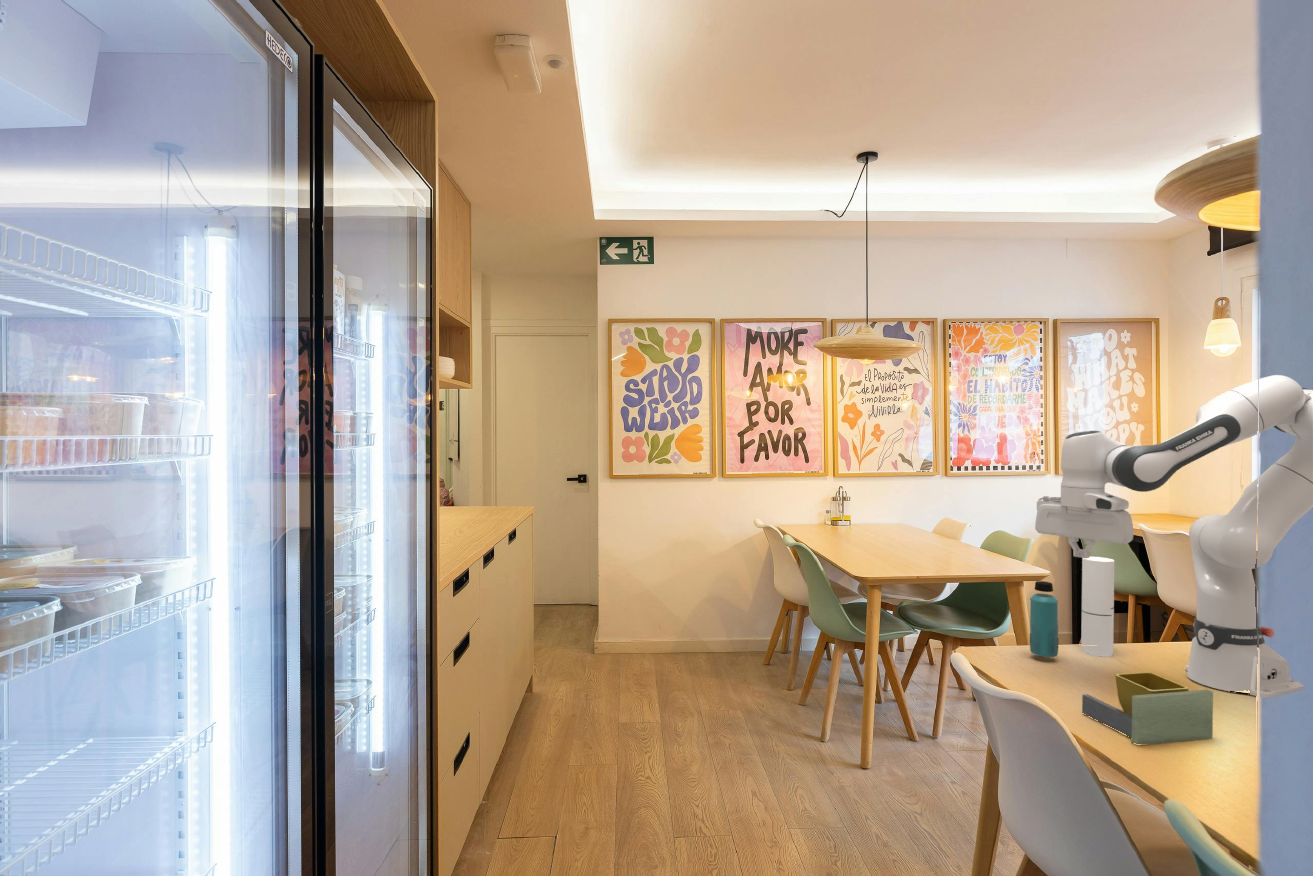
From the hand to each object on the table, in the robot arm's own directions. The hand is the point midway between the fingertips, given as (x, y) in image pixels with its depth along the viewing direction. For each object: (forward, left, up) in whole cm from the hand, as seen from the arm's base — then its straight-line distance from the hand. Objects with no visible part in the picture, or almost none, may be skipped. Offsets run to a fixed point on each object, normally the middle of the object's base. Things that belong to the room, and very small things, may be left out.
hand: (1081, 557), depth 159 cm
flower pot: (+6, +24, -29) cm, 38 cm away
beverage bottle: (-2, -14, -29) cm, 33 cm away
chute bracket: (+8, +24, -29) cm, 38 cm away
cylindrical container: (-20, -16, -29) cm, 39 cm away
